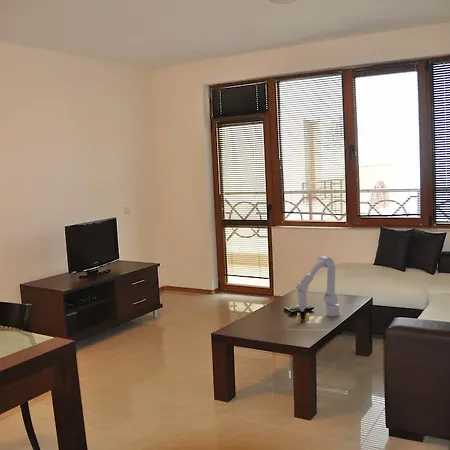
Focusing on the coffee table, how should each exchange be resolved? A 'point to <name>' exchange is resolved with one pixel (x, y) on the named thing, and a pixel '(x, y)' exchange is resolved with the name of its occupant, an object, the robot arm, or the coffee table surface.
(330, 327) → the coffee table surface
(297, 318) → the stud finder
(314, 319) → the subfloor
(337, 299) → the robot arm
